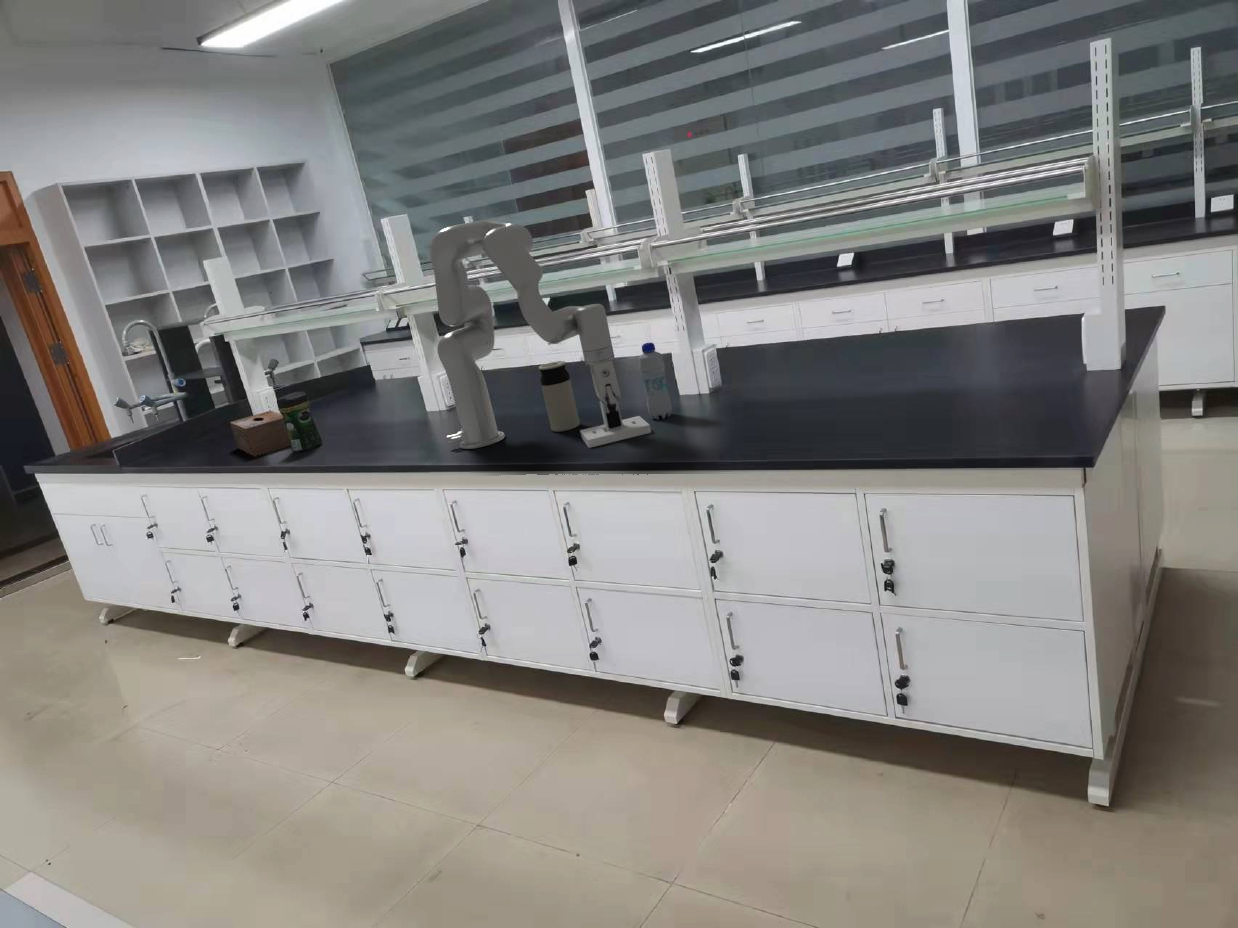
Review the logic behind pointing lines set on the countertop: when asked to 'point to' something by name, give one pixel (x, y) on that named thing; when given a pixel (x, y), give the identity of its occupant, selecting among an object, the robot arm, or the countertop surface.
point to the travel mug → (559, 396)
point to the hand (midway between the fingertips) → (613, 424)
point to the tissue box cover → (261, 433)
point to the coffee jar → (299, 421)
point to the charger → (606, 417)
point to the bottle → (654, 382)
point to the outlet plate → (615, 432)
